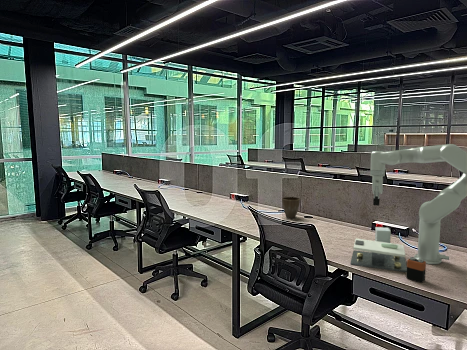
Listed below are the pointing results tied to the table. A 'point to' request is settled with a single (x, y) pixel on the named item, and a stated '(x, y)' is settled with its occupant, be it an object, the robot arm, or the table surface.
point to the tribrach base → (379, 261)
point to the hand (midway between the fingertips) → (376, 205)
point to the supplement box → (382, 234)
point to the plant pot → (290, 206)
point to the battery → (416, 269)
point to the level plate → (379, 247)
